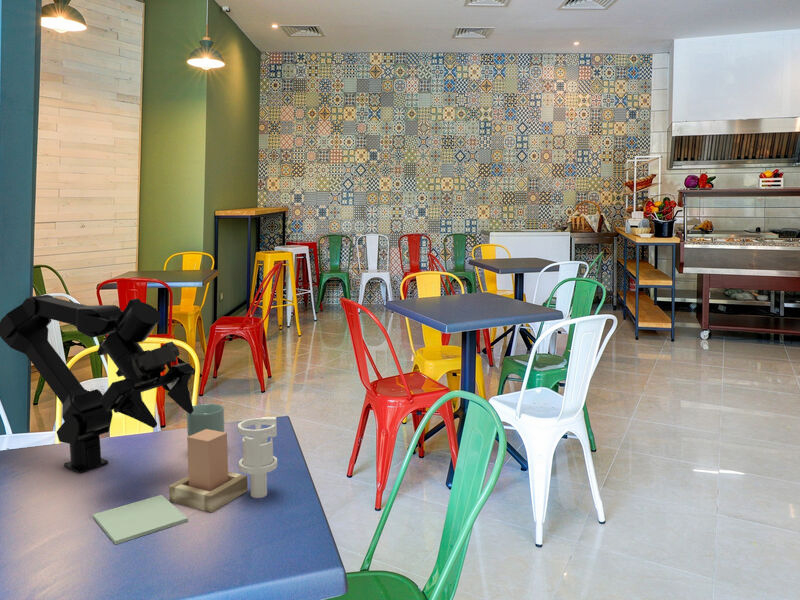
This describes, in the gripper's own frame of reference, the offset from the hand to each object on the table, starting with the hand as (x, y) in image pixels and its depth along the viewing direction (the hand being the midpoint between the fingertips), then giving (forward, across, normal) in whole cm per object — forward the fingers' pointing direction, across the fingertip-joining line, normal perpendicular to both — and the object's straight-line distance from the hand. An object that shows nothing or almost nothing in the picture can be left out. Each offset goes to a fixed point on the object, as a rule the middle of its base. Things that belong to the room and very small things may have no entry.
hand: (174, 419), depth 120 cm
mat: (+12, -12, +7) cm, 19 cm away
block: (+15, 0, +4) cm, 16 cm away
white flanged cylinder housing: (+21, +5, -1) cm, 22 cm away
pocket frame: (+15, 0, +4) cm, 16 cm away
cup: (+4, +17, +16) cm, 24 cm away
